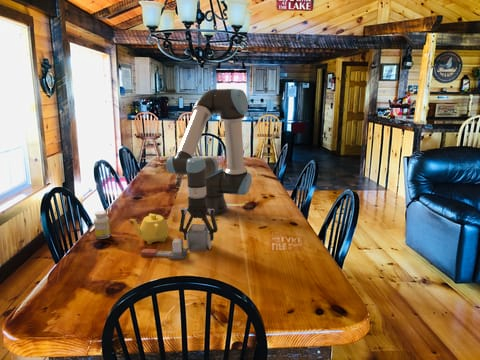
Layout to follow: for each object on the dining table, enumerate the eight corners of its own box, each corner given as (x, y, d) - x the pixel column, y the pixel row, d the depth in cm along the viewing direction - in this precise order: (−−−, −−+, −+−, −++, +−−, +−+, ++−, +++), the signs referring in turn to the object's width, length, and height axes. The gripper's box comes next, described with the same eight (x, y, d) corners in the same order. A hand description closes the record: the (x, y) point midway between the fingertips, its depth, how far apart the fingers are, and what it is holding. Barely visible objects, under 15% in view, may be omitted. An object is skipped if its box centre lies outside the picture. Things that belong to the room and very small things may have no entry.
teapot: (149, 232, 177) (147, 208, 174) (175, 236, 172) (174, 211, 169) (130, 243, 164) (128, 218, 161) (159, 248, 159) (157, 221, 156)
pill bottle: (106, 232, 176) (104, 209, 173) (113, 236, 172) (110, 212, 169) (93, 236, 172) (90, 212, 169) (99, 240, 167) (96, 216, 164)
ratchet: (145, 250, 157) (144, 236, 155) (187, 251, 155) (186, 237, 154) (139, 258, 150) (138, 243, 148) (183, 259, 149) (183, 244, 147)
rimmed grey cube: (192, 243, 163) (191, 224, 161) (208, 244, 162) (208, 224, 160) (189, 250, 156) (188, 230, 154) (206, 251, 156) (205, 231, 153)
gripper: (169, 198, 151) (172, 250, 156) (221, 199, 149) (223, 251, 155) (173, 193, 158) (176, 242, 164) (224, 193, 156) (225, 244, 162)
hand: (199, 247), depth 159 cm, fingers open, 8 cm apart
